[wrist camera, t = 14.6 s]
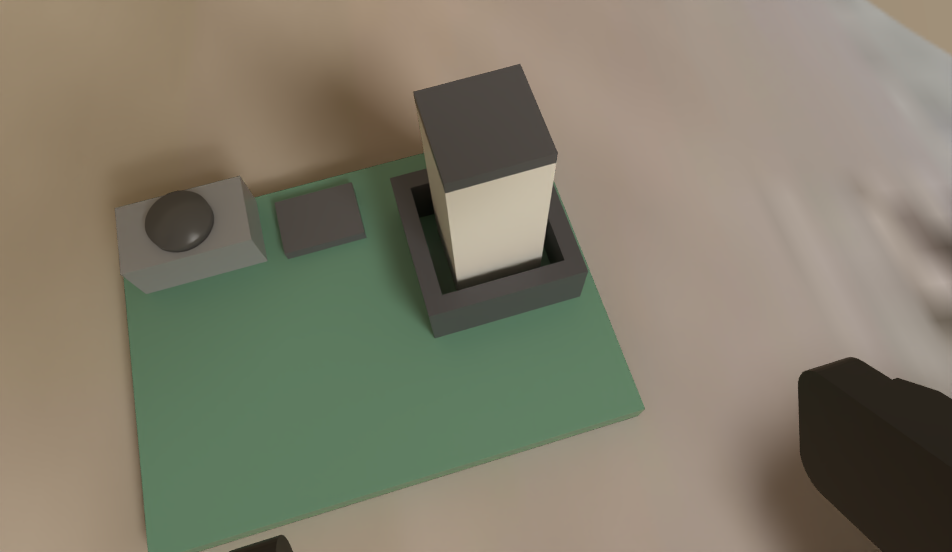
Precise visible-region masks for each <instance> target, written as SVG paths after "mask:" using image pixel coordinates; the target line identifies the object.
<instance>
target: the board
mask: <svg viewBox="0 0 952 552" xmlns="http://www.w3.org/2000/svg"><path fill="white" fill-rule="evenodd" d="M115 216H116V227H117V239H118V250H119V261H120V273H121V275H122V276H123V277H124V288H125V299H126V310H127V321H128V332H129V344H130V355H131V366H132V377H133V388H134V400H135V411H136V422H137V433H138V444H139V455H140V467H141V478H142V489H143V500H144V511H145V522H146V534H147V545H148V552H199V551H202V550H205V549H209V548H212V547H215V546H218V545H222V544H225V543H228V542H231V541H235V540H238V539H241V538H244V537H247V536H251V535H254V534H257V533H260V532H264V531H267V530H270V529H273V528H277V527H280V526H283V525H286V524H290V523H293V522H296V521H299V520H302V519H306V518H309V517H312V516H315V515H319V514H322V513H325V512H328V511H332V510H335V509H338V508H341V507H345V506H348V505H351V504H354V503H357V502H361V501H364V500H367V499H370V498H374V497H377V496H380V495H383V494H387V493H390V492H393V491H396V490H400V489H403V488H406V487H409V486H412V485H416V484H419V483H422V482H425V481H429V480H432V479H435V478H438V477H442V476H445V475H448V474H451V473H455V472H458V471H461V470H464V469H467V468H471V467H474V466H477V465H480V464H484V463H487V462H490V461H493V460H497V459H500V458H503V457H506V456H510V455H513V454H516V453H519V452H522V451H526V450H529V449H532V448H535V447H539V446H542V445H545V444H548V443H552V442H555V441H558V440H561V439H565V438H568V437H571V436H574V435H577V434H581V433H584V432H587V431H590V430H594V429H597V428H600V427H603V426H607V425H610V424H613V423H616V422H620V421H623V420H626V419H629V418H632V417H636V416H638V415H639V414H640V413H641V412H642V411H643V410H644V409H645V408H644V405H643V403H642V400H641V398H640V395H639V393H638V390H637V388H636V385H635V383H634V380H633V378H632V375H631V373H630V370H629V368H628V365H627V363H626V360H625V358H624V355H623V353H622V350H621V348H620V345H619V343H618V340H617V338H616V335H615V333H614V330H613V328H612V325H611V323H610V320H609V318H608V315H607V313H606V310H605V308H604V305H603V303H602V300H601V298H600V295H599V293H598V290H597V288H596V285H595V283H594V280H593V278H592V275H591V273H590V270H589V268H588V265H587V263H586V260H585V258H584V255H583V253H582V250H581V248H580V245H579V243H578V240H577V238H576V235H575V233H574V230H573V228H572V225H571V223H570V220H569V218H568V215H567V213H566V210H565V208H564V205H563V203H562V200H561V198H560V195H559V193H558V190H557V188H556V185H555V183H554V180H553V187H552V193H551V200H550V206H549V213H548V219H547V226H546V232H545V239H544V245H543V252H542V258H541V265H540V267H539V268H535V269H532V270H528V271H525V272H521V273H518V274H514V275H511V276H507V277H504V278H500V279H497V280H493V281H490V282H486V283H483V284H479V285H476V286H472V287H468V288H465V289H461V290H458V291H457V290H456V287H455V284H454V281H453V277H452V274H451V271H450V268H449V265H448V262H447V258H446V255H445V252H444V249H443V246H442V243H441V239H440V236H439V233H438V230H437V225H436V219H435V214H434V208H433V202H432V196H431V191H430V185H429V179H428V173H427V168H426V162H425V156H424V153H422V154H418V155H414V156H411V157H407V158H403V159H399V160H395V161H392V162H388V163H384V164H380V165H377V166H373V167H369V168H365V169H361V170H358V171H354V172H350V173H346V174H342V175H339V176H335V177H331V178H327V179H323V180H320V181H316V182H312V183H308V184H304V185H301V186H297V187H293V188H289V189H285V190H282V191H278V192H274V193H270V194H266V195H263V196H259V197H255V198H254V196H253V195H252V193H251V192H250V190H249V189H248V187H247V186H246V184H245V183H244V181H243V180H242V178H241V177H240V176H237V177H233V178H229V179H225V180H221V181H218V182H214V183H210V184H206V185H202V186H198V187H195V188H191V189H187V190H182V191H175V192H171V193H169V194H166V195H164V196H160V197H156V198H152V199H148V200H145V201H141V202H137V203H133V204H129V205H125V206H121V207H118V208H115Z"/></svg>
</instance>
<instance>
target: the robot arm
mask: <svg viewBox="0 0 952 552" xmlns="http://www.w3.org/2000/svg"><path fill="white" fill-rule="evenodd" d="M798 400H799V435H800V455H801V460H802V463H803V466H804V468H805V471H806V473H807V475H808V477H809V478H810V480H811V482H812V483H813V484H814V486H815V487H816V488H817V490H818V491H819V492H820V493H821V494H822V495H823V496H824V497H825V498H826V499H827V500H829V501H830V502H831V503H832V504H833V505H834V506H835V507H836V508H837V509H838V510H839V511H840V512H841V513H842V514H843V515H844V516H845V517H846V518H847V519H849V520H850V521H851V522H852V523H853V524H854V525H855V526H856V527H857V528H858V529H859V530H860V531H861V532H862V533H863V534H864V535H865V536H866V537H868V538H869V539H870V540H871V541H872V542H873V543H874V544H875V545H876V546H877V547H878V548H879V549H880V550H881V551H882V552H952V399H951V398H949V397H948V396H946V395H944V394H943V393H941V392H939V391H936V390H933V389H930V388H927V387H924V386H921V385H918V384H915V383H912V382H909V381H906V380H902V379H899V378H896V379H893V380H892V379H890V378H889V377H887V376H885V375H884V374H882V373H881V372H879V371H877V370H876V369H874V368H873V367H871V366H869V365H868V364H866V363H865V362H863V361H861V360H859V359H857V358H853V357H849V358H845V359H841V360H838V361H835V362H832V363H829V364H826V365H823V366H819V367H816V368H813V369H810V370H807V371H804V372H803V373H802V374H801V375H800V377H799V381H798ZM229 552H293V551H292V548H291V546H290V544H289V542H288V540H287V539H286V537H285V536H283V535H279V536H276V537H273V538H269V539H266V540H263V541H260V542H257V543H254V544H250V545H247V546H244V547H241V548H238V549H235V550H231V551H229Z"/></svg>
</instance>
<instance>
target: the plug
mask: <svg viewBox="0 0 952 552" xmlns="http://www.w3.org/2000/svg"><path fill="white" fill-rule="evenodd" d="M413 93H414V99H415V104H416V110H417V116H418V122H419V127H420V133H421V139H422V145H423V150H424V156H425V162H426V168H427V173H428V179H429V185H430V191H431V196H432V202H433V208H434V214H435V219H436V225H437V230H438V233H439V236H440V239H441V243H442V246H443V249H444V252H445V255H446V258H447V262H448V265H449V268H450V271H451V274H452V277H453V281H454V284H455V287H456V290H457V291H458V290H461V289H465V288H468V287H472V286H476V285H479V284H483V283H486V282H490V281H493V280H497V279H500V278H504V277H507V276H511V275H514V274H518V273H521V272H525V271H528V270H532V269H535V268H539V267H540V265H541V258H542V252H543V245H544V239H545V232H546V226H547V219H548V213H549V206H550V200H551V193H552V187H553V180H554V174H555V167H556V161H557V154H558V152H557V150H556V148H555V145H554V143H553V141H552V138H551V136H550V133H549V131H548V129H547V126H546V124H545V122H544V119H543V117H542V115H541V112H540V110H539V107H538V105H537V103H536V100H535V98H534V96H533V93H532V91H531V88H530V86H529V84H528V81H527V79H526V77H525V74H524V72H523V69H522V67H521V65H520V64H518V65H514V66H510V67H506V68H503V69H499V70H495V71H491V72H487V73H483V74H480V75H476V76H472V77H468V78H464V79H460V80H457V81H453V82H449V83H445V84H441V85H438V86H434V87H430V88H426V89H422V90H418V91H415V92H413Z"/></svg>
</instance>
